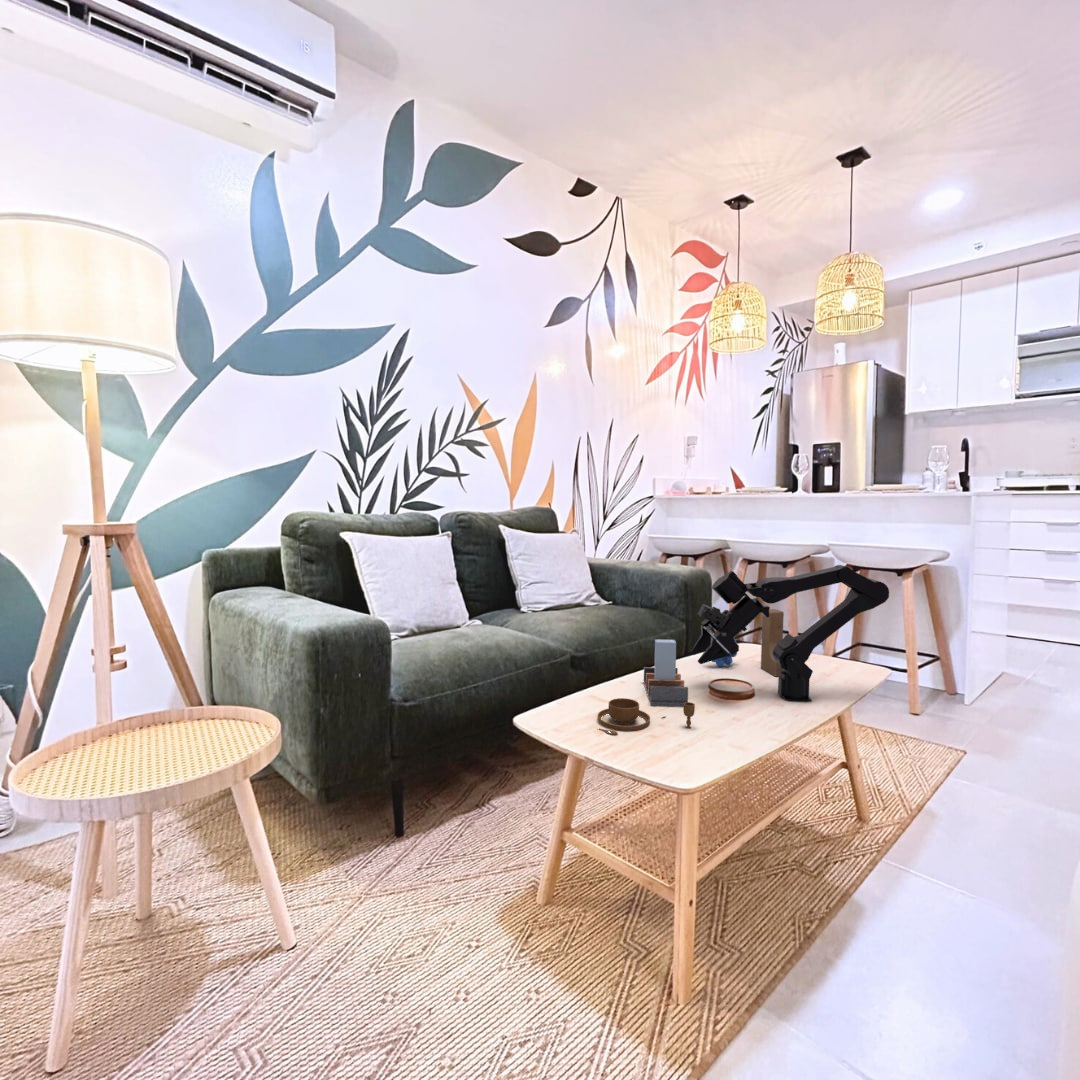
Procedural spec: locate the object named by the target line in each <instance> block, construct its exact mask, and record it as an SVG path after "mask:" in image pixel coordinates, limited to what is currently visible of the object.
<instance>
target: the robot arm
mask: <svg viewBox="0 0 1080 1080" xmlns="http://www.w3.org/2000/svg"><path fill="white" fill-rule="evenodd" d="M841 583H842V584H843V585H845V586H846V587H848V588H849V591H848V593H847V594H846V597H845V599H844V600H843V601H841V602H840V603H839V604H838V605H837V606H835V607H834V608H833V609H831V610H830V611H829V612H827V613H826V614H825V615H824V616H823V617H821V618H819V620H817V621H816V622H815V623H813V624H812V625H811V626H810V627H808V628H807V629H805V630H804V631H803V632H802V633H800V634H799V635H795V636H793V635H792V634H790V633H787V634H785V636H784V637H783V639H782V640H781V641H779V642H776V644H777V645H776V646H775V648H774V649H773V657H774V659H775V661H776V662H777V663H778V664H779V665H780V667H781V669H783V670H784V671H781V677H777V678H778V681H777V684H778V685H777V687H778V688H777V694H778V695H779V696H780V697H781V698H782V699H783V700H785V701H789V702H791V701H792V702H793V701H794V702H812V698H811V697H810V680H811V677H812V674H813V673H814V671H813V669H811V667H809V665H808V664H807V663H806V662H807V661H808V660H809V658H810V656H811V655H812V652H813V650H815V648H817V647H818V646H819V645H820V644H821V643H823V642H824V641H825V640H827V639H828V638H830V637H831V636H832V635H833V634H834V633H835V632H837V631H838V630H840V629H841V628H842V627H843V626H845V625H847V623H848V622H850V621H851V620H853V619H854V618H855V617H857V615H859V614H861V613H864V612H868V611H870V610H873V609H875V608H876V607H877V608H878V606H880V605H882V604H884V603H886V602H887V601H888V599H889V598H890V589H889V587H888V585H886V583H884V582H882V581H879V580H876V579H873V578H871V577H870V578H868V577H866V576H864V575H862V574H860V573H858V572H856V571H854V570H853V569H852V568H851V567H849V566H845V565H843V564H842V565H841V564H837V565H834V566H833V567H828V568H822V569H820V570H819V569H818V570H814V571H811V572H807V573H802V574H797V575H794V576H786V577H785V576H784V577H783V576H782V577H781V576H779V577H778V576H774V577H762V578H760V579H758V580H757V581H755V582H750V583H749V582H748V583H744V582H743V581H742V580H741V578H739V577H738V575H737V573H735V572H734V571H733V570H730V571H729V572H728V573H726V574H724V575H722V576H720V577H718V578H717V580H716V581H715V582H714V583H713V584H712V586H711V589H712V590H713V591H714V592H715V593H716V594H717V595H718V596H719V597H720V598H721V599H722V600H723V601H724V603H726V604H727V605H728V604H733V607H731V609H725V610H723V611H722V612H721V609H720V608H718V607H716V606H713V605H712V607H711V606H709V605H707V604H704V603H702V605H701V607H700V608H699V611H698V612H697V616H699V617H700V618H701V619H703V621H702V622H701V625H700V630H701V631H700V635H699V637H698V639H697V641H696V643H695V644H694V645H693V647H692V649H691V651H690V652H691V654H692V655H696V654H699V653H701V652H703V651H704V652H703V653H702V654H701V656H700V657H699V658H698V660H697V663H698V664H699V665H702V664H706V663H708V662H709V663H710V662H712V661H713V660H716V659H719V658H723V657H726V656H730V654H729V652H730V653H731V654H732V655H733V656H734V655H735V654H736V653H737V654H738V652H740V645H739V644H738V643H736V642H737V641H736V642H735V640H736V639H735V638H736V637H737V636H738V635H739V634H740V633H741V632H742V631H743V632H744V633H745V632H746V631H747V630H748V628H747V626H748V625H750V624H751V622H753V621H754V620H755V619H756V618H758V616H759V615H760V614H761V615H762V614H763V615H764V616H766V617H767V618H769V609H771V608H770V606H768V605H764V604H762V602H761V601H763V602H765V603H766V604H769V605H771V604H776V603H778V602H781V601H783V600H786V599H787V598H789V597H791V596H792V595H795V594H797V593H800V592H804V591H810V590H815V589H818V588H822V587H828V586H831V585H832V586H833V585H836V584H841ZM747 593H748V594H750V595H751V596H753V597H754V598H751V597H750V596H749V595H748V594H747ZM757 598H758V599H757ZM759 599H760V600H761V601H759ZM714 638H716V639H717V640H715V639H714Z"/></svg>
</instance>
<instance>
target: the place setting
mask: <svg viewBox="0 0 1080 1080" xmlns="http://www.w3.org/2000/svg"><path fill="white" fill-rule="evenodd" d="M695 708H696V706H695V703H694V702H690V701H688V702H685V703H684V705H683V707H682V709H683V710H682V711H683V715H684V716H685V717H686V722H685V724H686V726H685V728H686V729H689V730H690V729H692V727H691V725H692V721H691V717H693V716H694V715H695V711H696V710H695ZM606 714H609V715H608V716H610V718H611V719H613V721H614V722H615V723H616V724H613V723H609V722H606V721H604V720H603V719H602V720H601V717H602V716H604V715H606ZM638 716H639V717H638ZM638 718H641V719H642V718H643V720H644V721H645V722H643V723H640V724H636V725H630V724H632V723H633V722H634V721H635V720H637V719H638ZM665 718H666V716H662V717H660V719H665ZM597 720H598V722H599V724H600V723H601V724H600V725H602V727H604V728H607V729H603V728H599V730H598V731H602V732H604V733H605V732H606V733H605V734H606V735H609V734H610V735H609V736H616V735H618V732H617V731H619V730H620V731H622V732H634V731H639V730H643V729H645V728H647V727H648V726H649V724H650V722H651V717H650V715H649V714H648V713H646V712H645V711H643V710H640V703H639V702H638V701H637V700H635V699H631V698H624V697H623V698H621V697H620V698H613V699H611V700H609V701H608V708H605V709H603V710H601V711H599V712H598V713H597ZM617 724H619V725H617ZM608 729H611V730H608ZM613 729H614V730H613ZM608 731H610V732H611V733H609V732H608ZM607 732H608V733H607Z"/></svg>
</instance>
